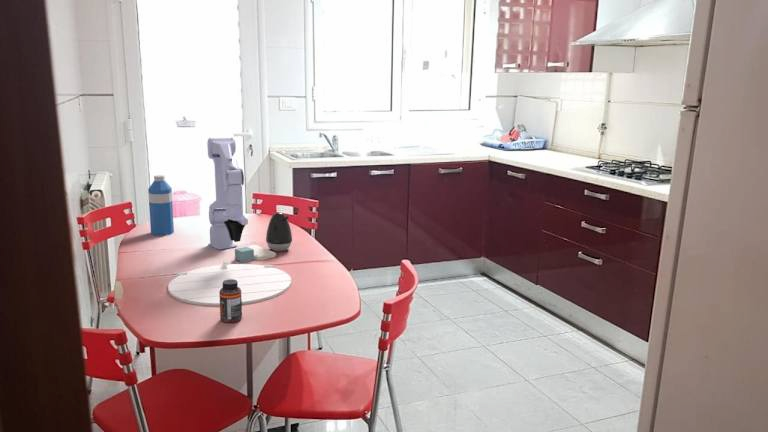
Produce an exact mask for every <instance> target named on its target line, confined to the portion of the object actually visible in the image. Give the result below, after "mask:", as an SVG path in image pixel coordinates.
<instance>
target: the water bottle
mask: <svg viewBox="0 0 768 432" xmlns="http://www.w3.org/2000/svg"><path fill="white" fill-rule="evenodd" d="M165 177H166V176H165V175H163V174H161V175H160V174H155V175H154V176H153V178H154V179H153V182H152V183H151V185H150V186H149V187H148V190H147V191H148V206H149V207H148V208H149V221H150V223H149V224H150V226H149V227H150V235H152V236H156V237H157V236H159V237H160V236H162V237H163V236H169V235H172V234H173V233H174V232H175V229H174V228H175V227H174V208H173V190H172V189H173V188H172V186H171V185H170V184H169V183H168V182H167V181H166V180H165Z"/></svg>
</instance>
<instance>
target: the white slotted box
mask: <svg viewBox="0 0 768 432" xmlns="http://www.w3.org/2000/svg"><path fill="white" fill-rule="evenodd" d="M242 247H243V246H242ZM242 247H240V248H242ZM245 247H249V248H251V249H254V260H256V261H261V260H266V259H267V260H268V259H271V258H275V257H277V253H276V252H275V251H273V250H269V249H267V248H264V247H261V246H259V245H256V244H252V245H251V244H250V245H247V246H245Z"/></svg>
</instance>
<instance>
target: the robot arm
mask: <svg viewBox="0 0 768 432" xmlns="http://www.w3.org/2000/svg"><path fill="white" fill-rule="evenodd" d="M206 144H207V145H206V146H207V156H208V158H209V159H211V160H212V161H213V164H214V165H213V166H214V183H215V184H214V185H215V200H214V201H213V202H212V203H211V204H209V207H208V208H209V209H208V219H209V223H210V224H211V226H210V228H209V242H210V243H208V244H207V245H208V246H210V247H212V248H215V249H216V250H219V251H220V250H224V249H230V248H235V247H237V248H238V245H237V244H235V243H237V242H241V238H242V234H243V231H244V229H245V227H246V226H247V225H249V219H248V218H247V217H245V215H244V205H243V203H244V202H243V198H244V197H243V186H244V185H245V184H244V183H245V174H244V170H243V168H239V165H238V164H239V163H238V161H237V159H235V157H233V156H234V155H235V153H236V149H237V148H236V140H235V139H234V137H224V138H223V137H209V138H207V143H206Z"/></svg>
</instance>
